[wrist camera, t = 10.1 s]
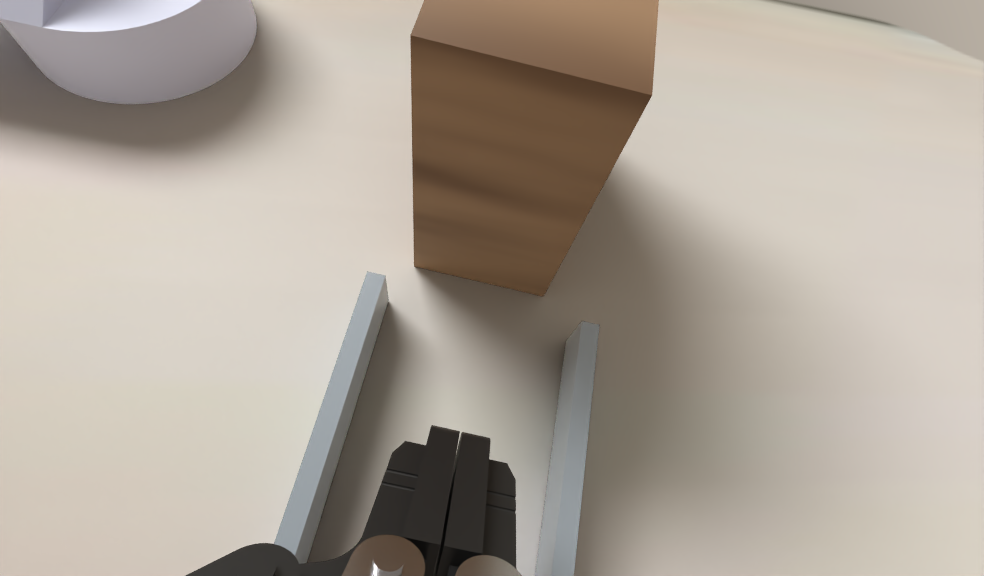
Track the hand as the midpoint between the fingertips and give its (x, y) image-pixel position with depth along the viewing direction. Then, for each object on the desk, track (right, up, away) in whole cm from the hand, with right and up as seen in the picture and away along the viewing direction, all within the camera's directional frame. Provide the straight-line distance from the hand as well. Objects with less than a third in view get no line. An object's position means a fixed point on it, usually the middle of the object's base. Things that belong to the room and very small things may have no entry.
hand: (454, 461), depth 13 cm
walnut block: (+1, +8, +9) cm, 12 cm away
